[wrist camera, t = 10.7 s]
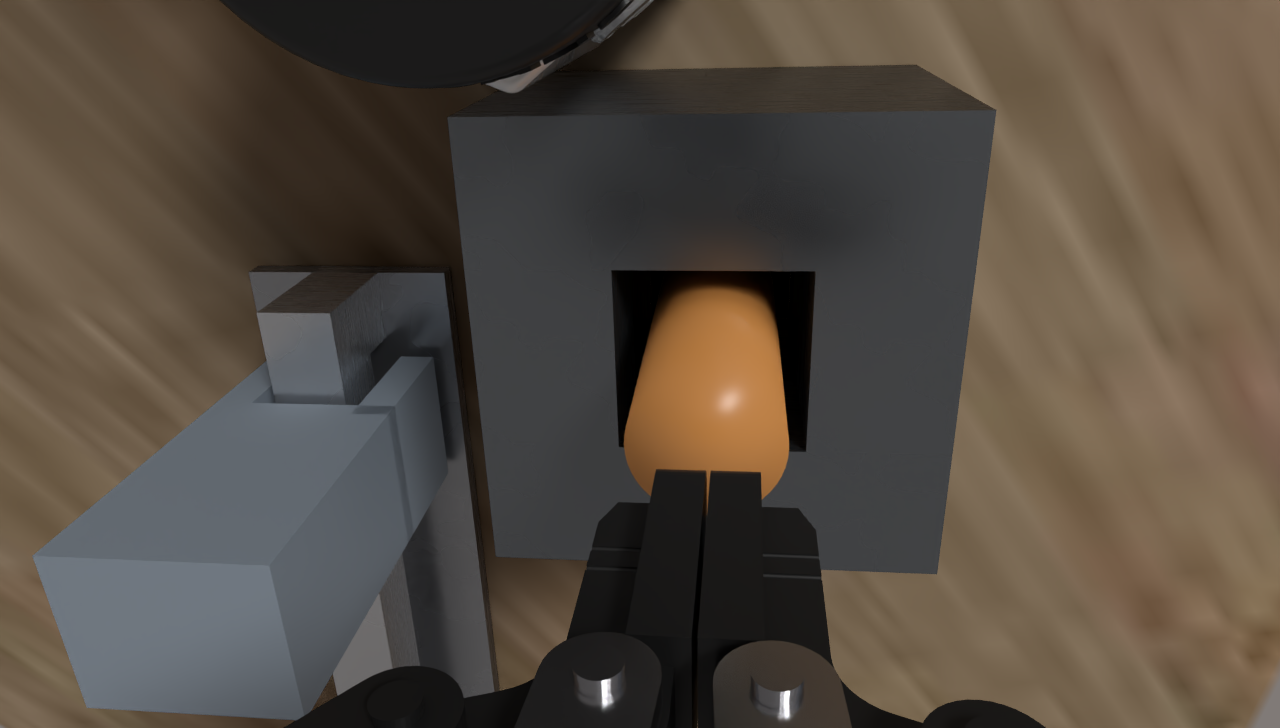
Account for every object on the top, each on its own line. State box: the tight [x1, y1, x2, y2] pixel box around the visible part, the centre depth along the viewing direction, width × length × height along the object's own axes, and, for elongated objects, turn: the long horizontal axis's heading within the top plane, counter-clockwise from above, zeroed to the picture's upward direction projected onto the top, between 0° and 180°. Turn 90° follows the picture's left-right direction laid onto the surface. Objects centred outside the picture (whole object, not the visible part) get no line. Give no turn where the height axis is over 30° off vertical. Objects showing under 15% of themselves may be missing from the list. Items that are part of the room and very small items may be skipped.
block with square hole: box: [447, 65, 996, 574], centre depth 22 cm, size 10×10×8 cm
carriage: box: [33, 356, 448, 720], centre depth 23 cm, size 5×4×10 cm
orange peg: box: [624, 271, 789, 509], centre depth 19 cm, size 3×3×8 cm
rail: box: [249, 266, 500, 698], centre depth 30 cm, size 6×21×4 cm, turn 2°
